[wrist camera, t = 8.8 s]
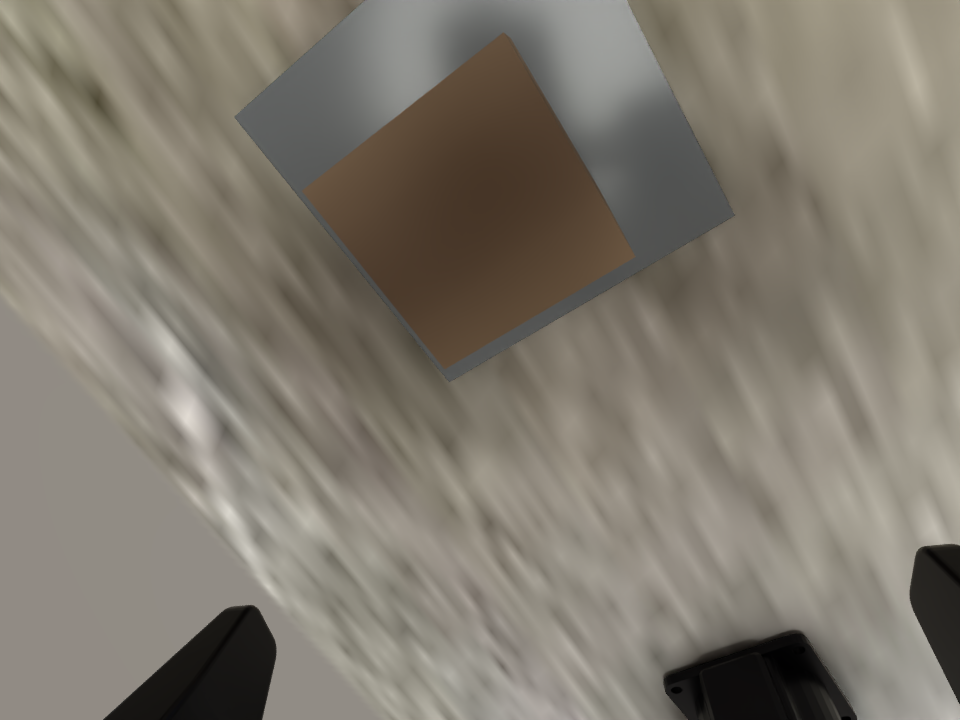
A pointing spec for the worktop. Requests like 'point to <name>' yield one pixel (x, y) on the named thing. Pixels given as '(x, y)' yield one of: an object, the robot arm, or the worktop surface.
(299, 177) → the slate coaster
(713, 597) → the worktop surface
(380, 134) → the walnut block
